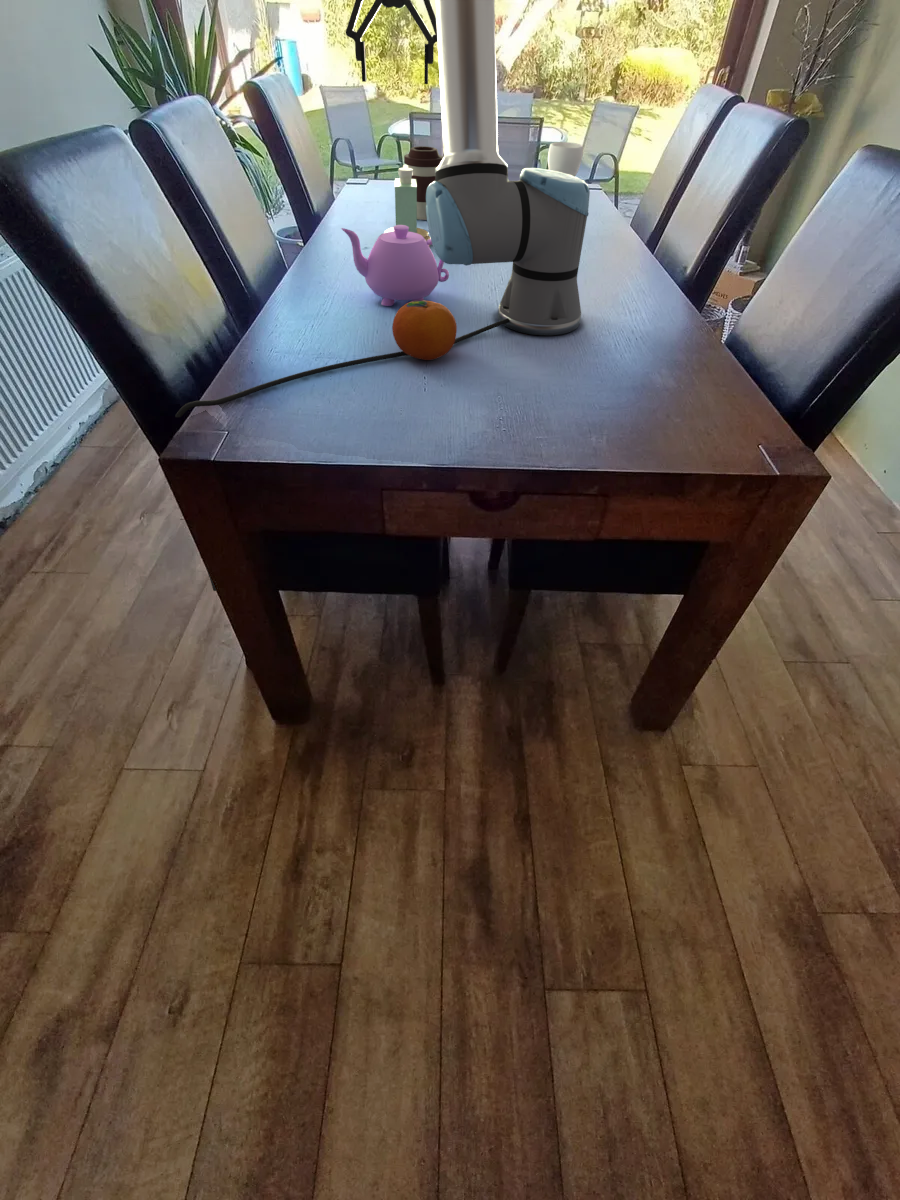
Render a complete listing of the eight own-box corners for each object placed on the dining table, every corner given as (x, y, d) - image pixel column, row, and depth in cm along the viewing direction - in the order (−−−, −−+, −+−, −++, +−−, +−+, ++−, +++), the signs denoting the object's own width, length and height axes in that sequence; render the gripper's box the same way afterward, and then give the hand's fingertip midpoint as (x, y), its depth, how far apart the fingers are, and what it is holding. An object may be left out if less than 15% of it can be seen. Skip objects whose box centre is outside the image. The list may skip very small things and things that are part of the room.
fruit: (468, 356, 105) (471, 307, 100) (422, 374, 100) (423, 322, 94) (425, 337, 110) (425, 288, 105) (379, 352, 105) (377, 302, 100)
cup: (547, 221, 169) (556, 148, 158) (536, 212, 175) (544, 141, 164) (578, 220, 170) (589, 148, 159) (566, 211, 177) (576, 141, 165)
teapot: (346, 311, 118) (340, 237, 109) (346, 285, 128) (341, 215, 119) (452, 310, 120) (454, 237, 111) (444, 285, 130) (446, 216, 121)
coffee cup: (449, 216, 169) (451, 148, 158) (428, 224, 163) (429, 154, 152) (418, 210, 172) (418, 143, 162) (397, 217, 166) (396, 148, 156)
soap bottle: (383, 242, 145) (381, 173, 136) (385, 229, 152) (382, 163, 143) (428, 243, 146) (429, 174, 136) (427, 230, 153) (428, 164, 144)
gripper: (326, -62, 120) (336, 81, 135) (456, -55, 121) (452, 86, 136) (330, -60, 126) (340, 78, 141) (455, -54, 127) (451, 82, 141)
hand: (395, 82), depth 138 cm, fingers open, 13 cm apart
